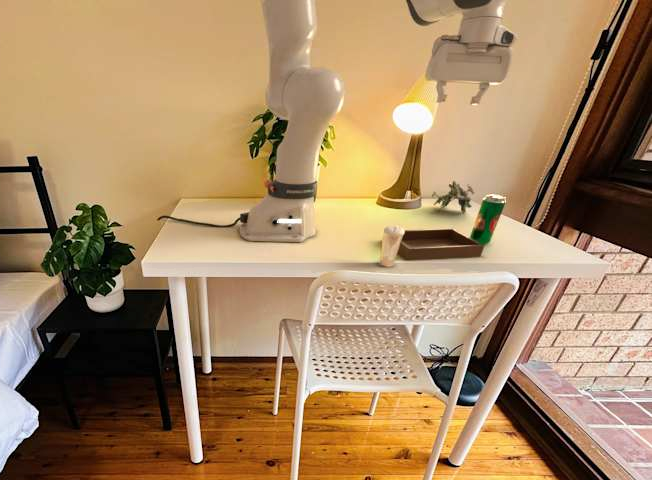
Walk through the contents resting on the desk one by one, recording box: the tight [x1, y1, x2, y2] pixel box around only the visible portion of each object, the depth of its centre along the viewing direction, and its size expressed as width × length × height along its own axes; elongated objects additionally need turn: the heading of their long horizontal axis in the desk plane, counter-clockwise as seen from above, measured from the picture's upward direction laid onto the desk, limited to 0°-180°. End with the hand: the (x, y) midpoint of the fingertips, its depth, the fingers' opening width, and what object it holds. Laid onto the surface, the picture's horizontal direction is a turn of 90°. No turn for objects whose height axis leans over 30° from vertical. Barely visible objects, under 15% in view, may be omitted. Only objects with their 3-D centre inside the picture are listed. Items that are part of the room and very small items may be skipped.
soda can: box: [469, 194, 507, 246], centre depth 98 cm, size 5×5×12 cm
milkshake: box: [378, 225, 405, 268], centre depth 86 cm, size 4×5×10 cm
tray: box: [397, 227, 486, 261], centre depth 97 cm, size 20×14×3 cm
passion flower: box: [431, 180, 475, 214], centre depth 124 cm, size 11×11×12 cm
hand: (457, 103), depth 98 cm, fingers open, 8 cm apart
